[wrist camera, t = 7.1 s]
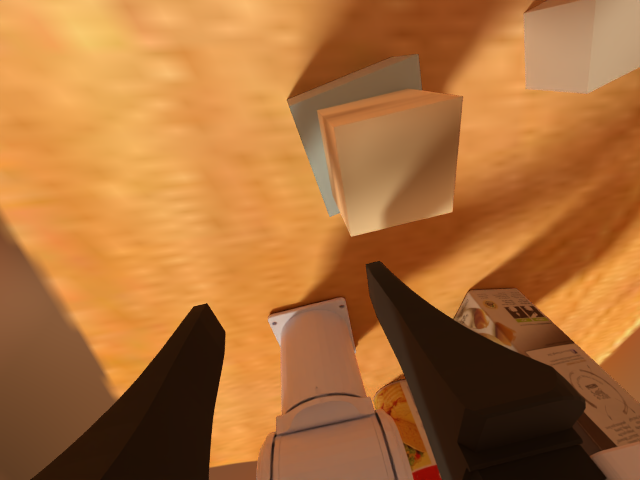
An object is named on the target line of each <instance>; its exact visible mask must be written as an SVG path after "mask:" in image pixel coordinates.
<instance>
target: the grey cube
mask: <svg viewBox="0 0 640 480" xmlns="http://www.w3.org/2000/svg"><path fill="white" fill-rule="evenodd" d="M524 43H525V77H526V89H533V90H546V91H559V92H572V93H585V94H588V93H590V92H592V91H594V90H596V89H598V88H600V87H602V86H604V85H606V84H607V83H609V82H611V81H613V80H615V79H617V78H619V77H621V76H623V75H625V74H627V73H629V72H631V71H633V70H635V69H637V68H639V67H640V0H546V1H545V2H543V3H541V4H539V5H538V6H536V7H534V8H532V9H531V10H529V11H527V12H525V13H524Z"/></svg>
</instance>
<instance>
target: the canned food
mask: <svg viewBox="0 0 640 480" xmlns="http://www.w3.org/2000/svg"><path fill="white" fill-rule="evenodd" d="M373 401H374V404H375V408H376V410H377V409H383V410H384V411H385V413H387V414H388V415H389V416H391V417H392V419H393V420H394V422H395V424H396V426H397V429H398V431H399V434H400V436H401V439H402V442H403V445H404V448H405V451H406V454H407V457H408V461H409V464H410V468H411V471H412V475H413V479H414V480H442V479H441V476H440V473H439V470H438V467H437V464H436V461H435V458H434V455H433V453H432V450H431V447H430V444H429V441H428V438H427V435H426V433H425V430H424V427H423V424H422V421H421V419H420V416H419V413H418V410H417V408H416V405H415V402H414V399H413V397H412V394H411V391H410V389H409V386H408V383H407V381H406V380H400V381H396V382H393V383H390V384H388V385H386V386H384V387H383V388H381V389H380V390H379V391H378V392H377V393H376V395H375V396H374V400H373Z"/></svg>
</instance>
